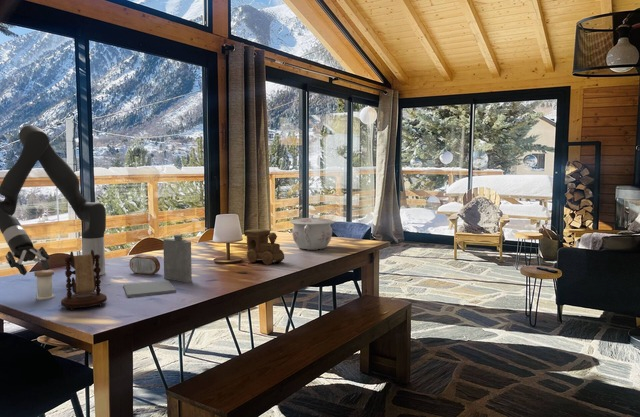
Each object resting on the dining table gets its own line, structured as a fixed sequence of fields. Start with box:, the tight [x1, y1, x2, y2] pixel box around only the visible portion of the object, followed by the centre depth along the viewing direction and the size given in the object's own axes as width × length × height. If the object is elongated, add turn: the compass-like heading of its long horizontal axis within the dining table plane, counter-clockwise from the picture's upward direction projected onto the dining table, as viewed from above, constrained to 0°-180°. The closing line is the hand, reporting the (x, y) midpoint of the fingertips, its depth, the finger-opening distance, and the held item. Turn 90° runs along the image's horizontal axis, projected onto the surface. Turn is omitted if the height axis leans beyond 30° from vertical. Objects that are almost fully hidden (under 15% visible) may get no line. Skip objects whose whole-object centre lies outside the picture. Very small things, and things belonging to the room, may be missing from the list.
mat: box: [122, 279, 177, 298], centre depth 198 cm, size 18×18×1 cm
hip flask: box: [162, 234, 193, 283], centre depth 215 cm, size 16×4×20 cm, turn 58°
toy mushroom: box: [34, 269, 55, 301], centre depth 185 cm, size 6×6×10 cm
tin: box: [129, 254, 161, 275], centre depth 227 cm, size 15×3×8 cm, turn 74°
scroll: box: [60, 250, 108, 312], centre depth 174 cm, size 15×15×20 cm
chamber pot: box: [289, 214, 335, 251], centre depth 299 cm, size 28×28×21 cm
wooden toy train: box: [244, 228, 285, 266], centre depth 255 cm, size 20×11×17 cm, turn 56°
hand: (36, 271), depth 187 cm, fingers open, 8 cm apart
